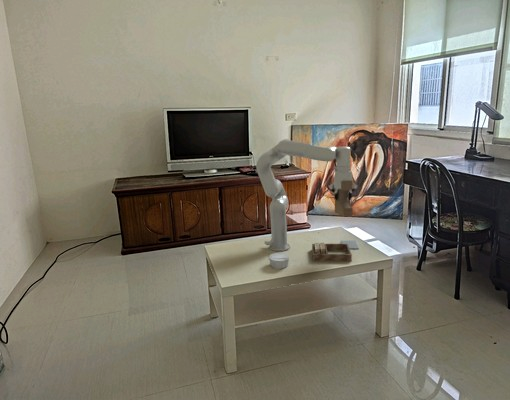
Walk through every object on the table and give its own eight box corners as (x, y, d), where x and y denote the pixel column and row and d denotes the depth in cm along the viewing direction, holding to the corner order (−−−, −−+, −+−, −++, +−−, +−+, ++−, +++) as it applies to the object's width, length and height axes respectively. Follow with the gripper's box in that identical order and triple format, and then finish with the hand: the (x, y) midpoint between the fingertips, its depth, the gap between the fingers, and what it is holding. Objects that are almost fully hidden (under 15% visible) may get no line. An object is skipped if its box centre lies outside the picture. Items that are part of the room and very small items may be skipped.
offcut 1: (315, 259, 204) (315, 249, 202) (314, 252, 213) (314, 242, 212) (319, 259, 204) (319, 249, 202) (318, 252, 213) (318, 242, 212)
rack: (313, 261, 201) (313, 254, 200) (312, 249, 217) (312, 243, 216) (351, 261, 198) (351, 254, 197) (347, 249, 214) (347, 243, 213)
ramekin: (277, 271, 190) (277, 262, 189) (265, 265, 199) (264, 256, 198) (293, 265, 196) (293, 256, 195) (280, 259, 205) (280, 251, 204)
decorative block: (352, 215, 203) (353, 181, 198) (343, 217, 201) (344, 182, 197) (343, 211, 213) (343, 178, 208) (334, 212, 212) (334, 179, 207)
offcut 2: (320, 259, 203) (320, 249, 202) (319, 252, 213) (319, 242, 212) (325, 259, 203) (325, 249, 202) (323, 252, 213) (323, 242, 211)
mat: (343, 249, 216) (343, 248, 216) (340, 241, 228) (340, 240, 228) (358, 249, 215) (358, 248, 215) (355, 241, 227) (355, 240, 227)
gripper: (328, 170, 198) (327, 201, 203) (360, 169, 196) (359, 201, 200) (327, 168, 206) (327, 198, 210) (358, 167, 203) (357, 198, 207)
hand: (342, 199), depth 205 cm, fingers closed on decorative block, 6 cm apart
